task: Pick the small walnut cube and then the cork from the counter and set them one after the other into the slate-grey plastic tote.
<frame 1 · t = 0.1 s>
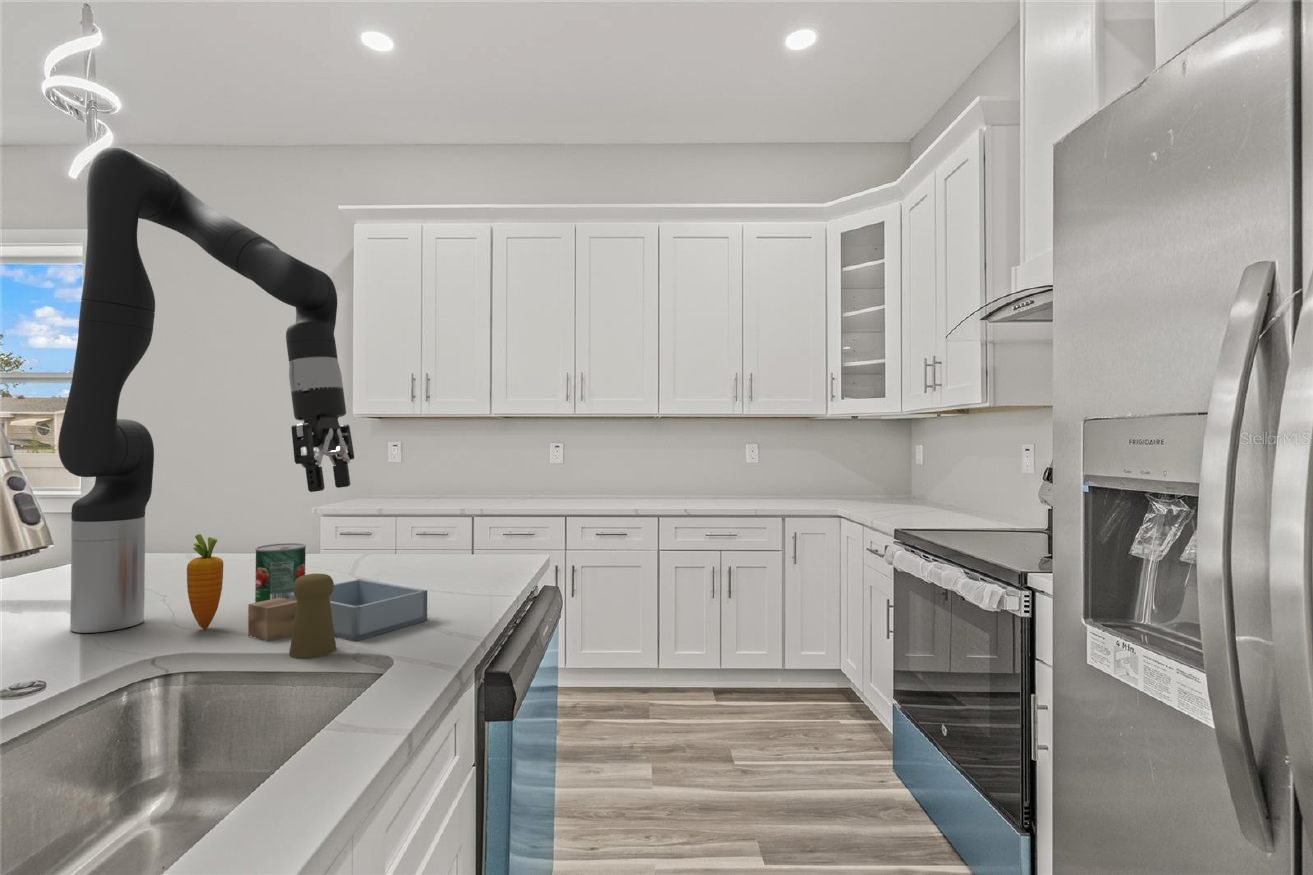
hand: (330, 489, 108), 22 cm above the worktop, tool pointing down, fingers open, 8 cm apart
canned tomato: (280, 609, 120), on the worktop
walnut cube: (273, 635, 104), on the worktop
tote: (357, 622, 111), on the worktop
cork: (313, 653, 96), on the worktop
carrot: (204, 630, 107), on the worktop
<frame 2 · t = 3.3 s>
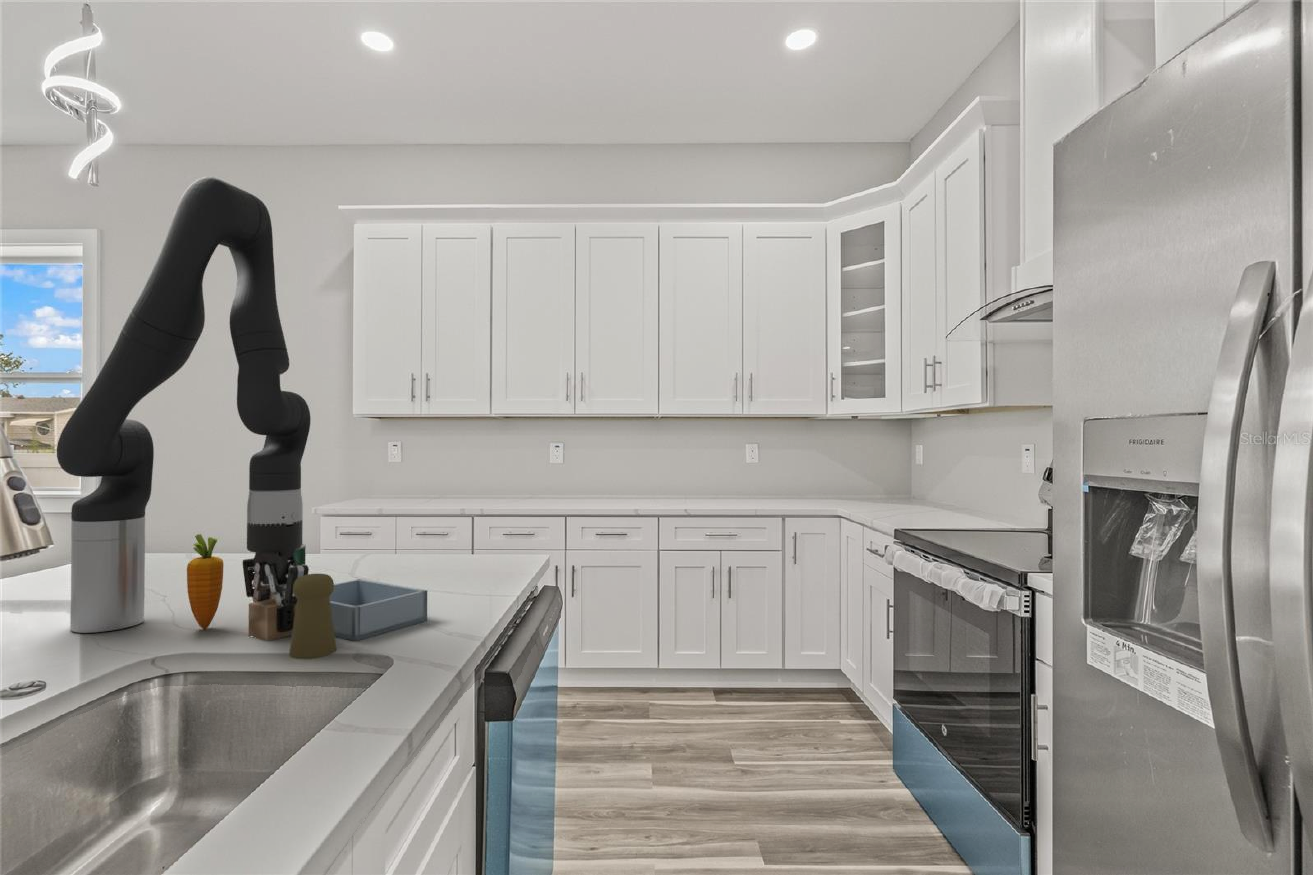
hand: (274, 628, 104), 1 cm above the worktop, tool pointing down, fingers closed on walnut cube, 5 cm apart
walnut cube: (274, 634, 104), on the worktop, touching gripper
everything else where it was.
when the fingers open (5 cm above the worktop, at t = 7.7 s): walnut cube drops 3 cm, resting on tote.
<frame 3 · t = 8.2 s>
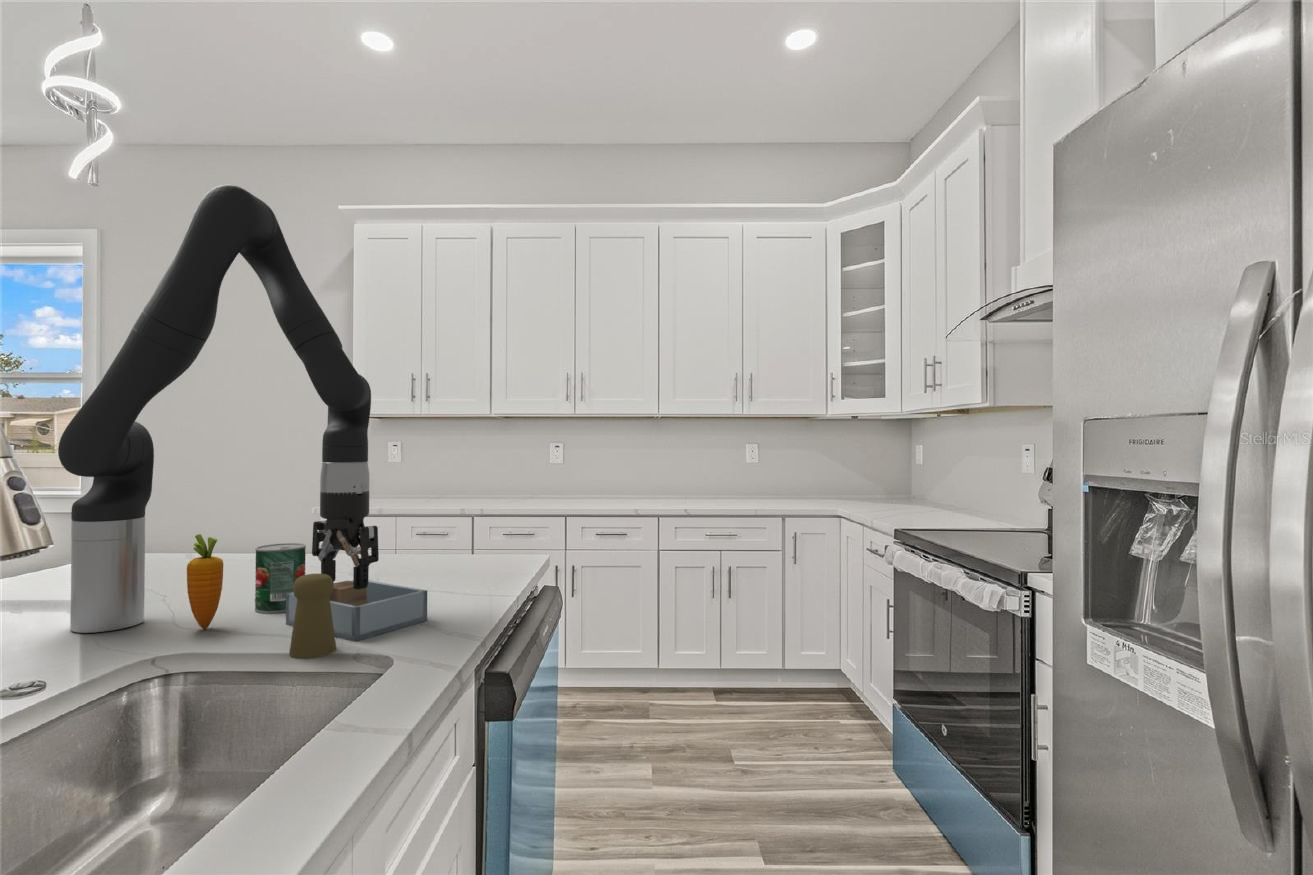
hand: (344, 585, 113), 6 cm above the worktop, tool pointing down, fingers open, 8 cm apart
walnut cube: (343, 614, 113), point 1 cm above the worktop, touching tote
everything else where it was.
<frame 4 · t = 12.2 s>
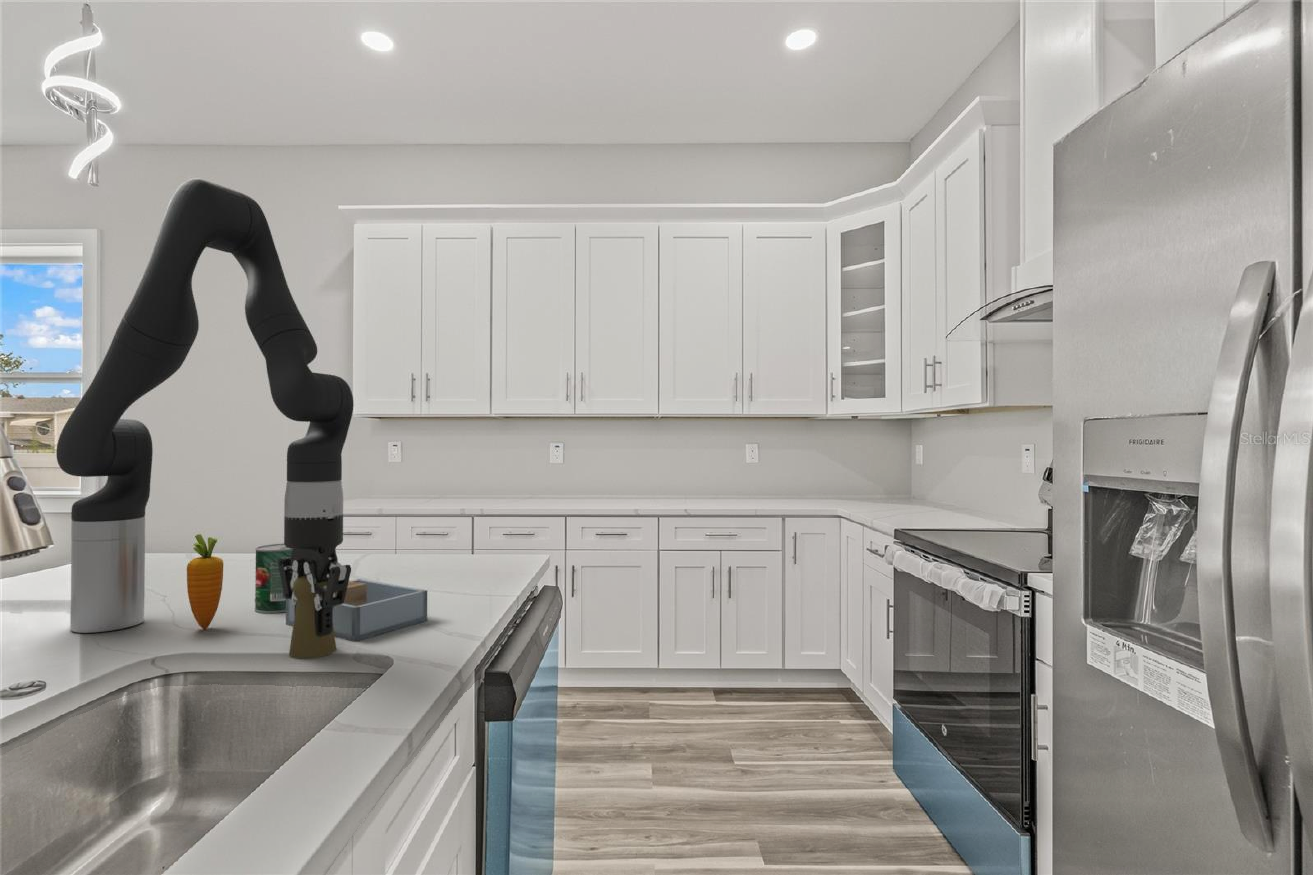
hand: (313, 632, 96), 3 cm above the worktop, tool pointing down, fingers closed on cork, 4 cm apart
cork: (312, 653, 96), on the worktop, touching gripper
everything else where it was.
when the fingers open (5 cm above the worktop, at t = 17.0 s): cork drops 1 cm, resting on tote.
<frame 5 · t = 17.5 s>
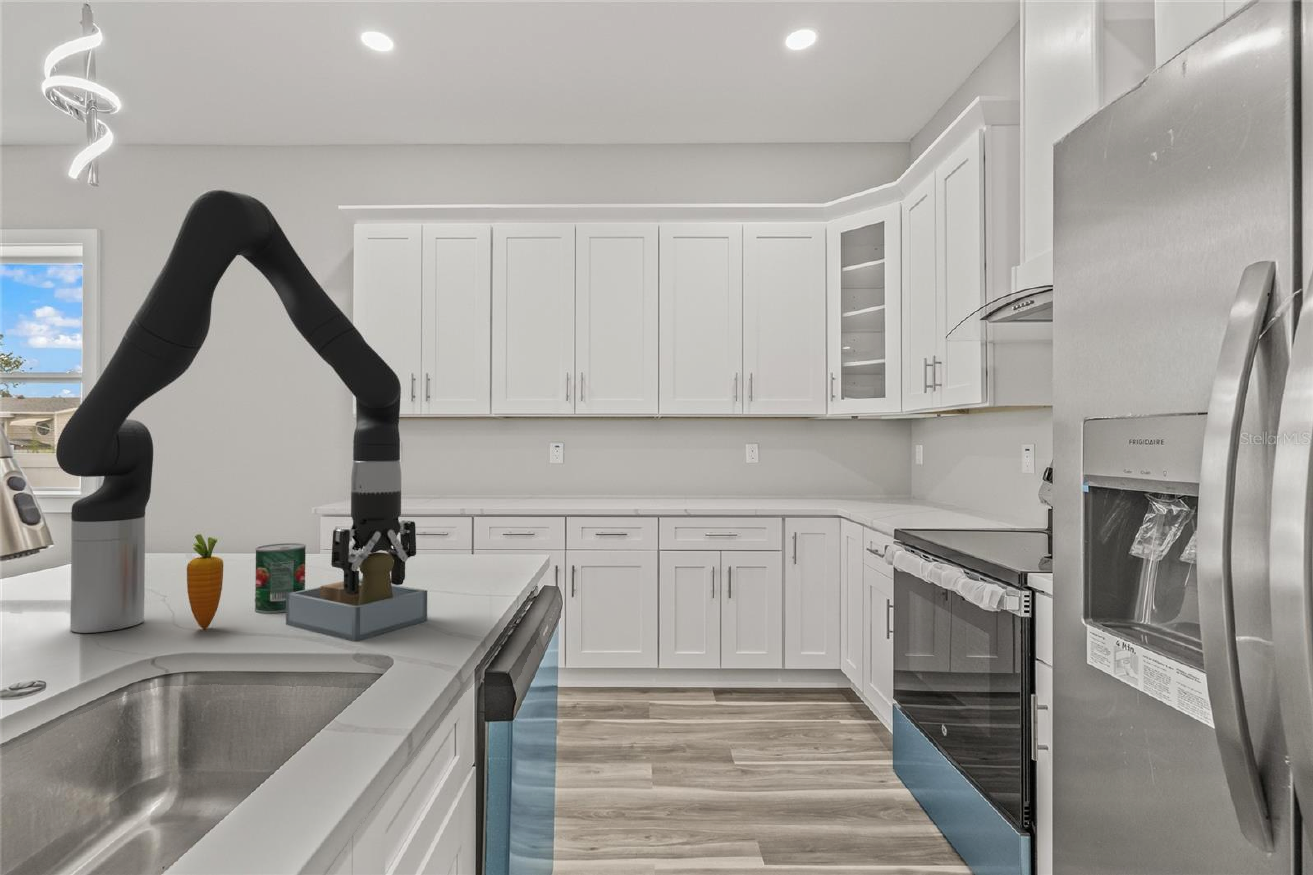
hand: (375, 588, 109), 6 cm above the worktop, tool pointing down, fingers open, 8 cm apart
cork: (376, 622, 109), point 1 cm above the worktop, touching tote
everything else where it was.
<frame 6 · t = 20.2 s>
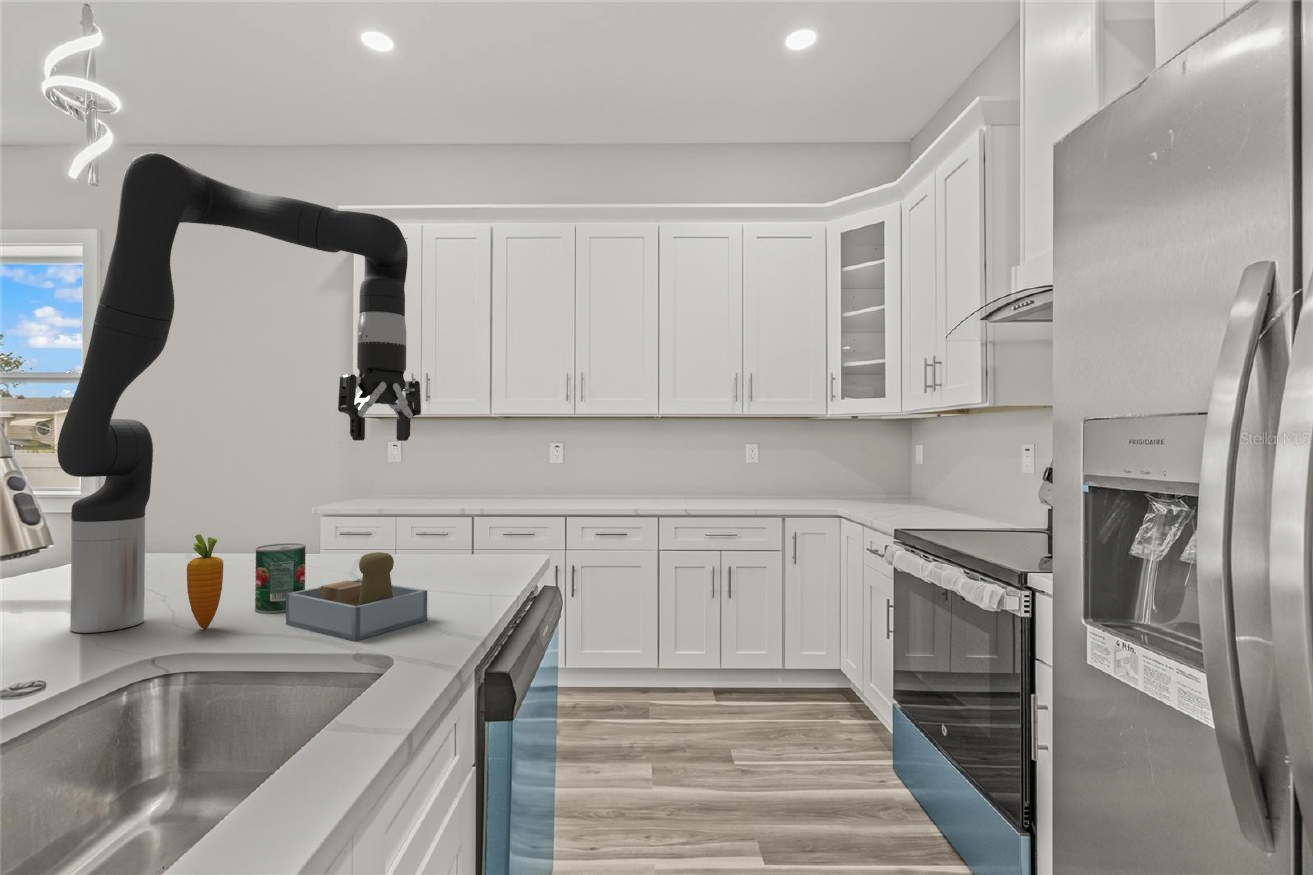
hand: (381, 440, 112), 30 cm above the worktop, tool pointing down, fingers open, 8 cm apart
nothing on the worktop moved.
at the end: walnut cube inside the target area on the tote (3.6 cm from its centre), point 0.8 cm above the tote's base; cork inside the target area on the tote (4.4 cm from its centre), point 0.6 cm above the tote's base; the gripper is holding nothing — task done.
